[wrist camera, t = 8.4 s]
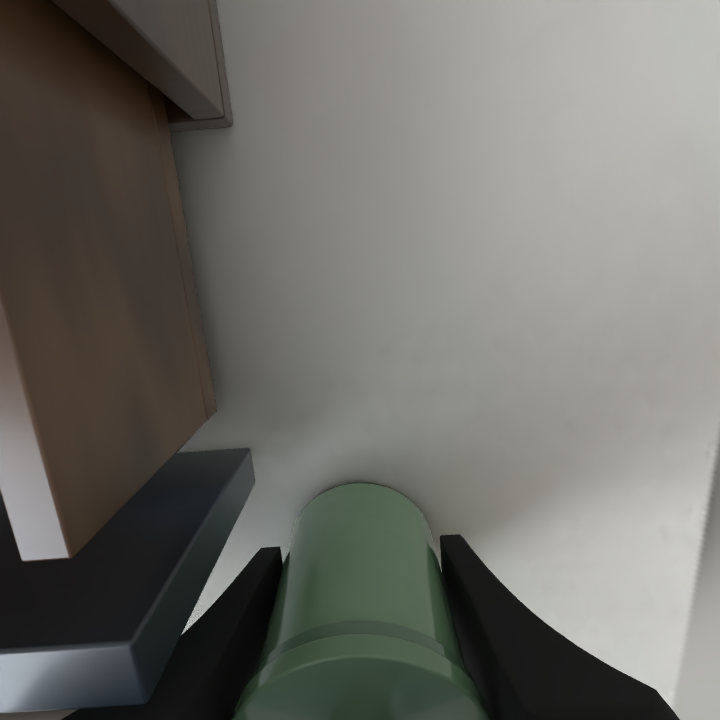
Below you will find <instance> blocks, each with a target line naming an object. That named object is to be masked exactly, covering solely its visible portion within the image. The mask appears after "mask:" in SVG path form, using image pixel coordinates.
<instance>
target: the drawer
mask: <svg viewBox="0 0 720 720" xmlns="http://www.w3.org/2000/svg"><path fill="white" fill-rule="evenodd" d="M216 411H217V408H216V403H215V397H214V391H213V385H212V379H211V373H210V367H209V361H208V355H207V349H206V344H205V338H204V332H203V326H202V320H201V314H200V308H199V302H198V296H197V291H196V285H195V279H194V273H193V267H192V261H191V255H190V249H189V243H188V237H187V232H186V226H185V220H184V214H183V208H182V202H181V196H180V190H179V184H178V178H177V173H176V167H175V161H174V155H173V149H172V143H171V137H170V131H169V125H168V120H167V114H166V108H165V102H164V96H163V93H162V92H161V91H159V90H158V89H157V88H156V87H155V86H153V85H152V84H151V83H150V82H149V81H147V80H146V79H145V78H144V77H143V76H141V75H140V74H139V73H138V72H137V71H135V70H134V69H133V68H132V67H131V66H129V65H128V64H127V63H126V62H124V61H123V60H122V59H121V58H120V57H118V56H117V55H116V54H115V53H114V52H112V51H111V50H110V49H109V48H108V47H106V46H105V45H104V44H103V43H102V42H100V41H99V40H98V39H97V38H96V37H94V36H93V35H92V34H91V33H90V32H88V31H87V30H86V29H85V28H83V27H82V26H81V25H80V24H79V23H77V22H76V21H75V20H74V19H73V18H71V17H70V16H69V15H68V14H67V13H65V12H64V11H63V10H62V9H61V8H59V7H58V6H57V5H56V4H55V3H53V2H52V1H51V0H0V720H61V719H63V718H64V717H66V716H68V715H70V714H71V713H73V712H75V711H76V710H78V709H82V708H99V707H116V706H133V705H144V704H146V703H147V702H148V701H149V700H150V698H151V695H152V693H153V691H154V689H155V687H156V685H157V683H158V681H159V679H160V677H161V675H162V673H163V671H164V669H165V667H166V665H167V663H168V661H169V658H170V656H171V654H172V652H173V650H174V648H175V646H176V644H177V642H178V640H179V638H180V636H181V634H182V632H183V630H184V628H185V626H186V624H187V622H188V619H189V617H190V615H191V613H192V611H193V609H194V607H195V605H196V603H197V601H198V599H199V597H200V595H201V593H202V591H203V589H204V587H205V585H206V582H207V580H208V578H209V576H210V574H211V572H212V570H213V568H214V566H215V564H216V562H217V560H218V558H219V556H220V554H221V552H222V550H223V548H224V546H225V543H226V541H227V539H228V537H229V535H230V533H231V531H232V529H233V527H234V525H235V523H236V521H237V519H238V517H239V515H240V513H241V511H242V509H243V506H244V504H245V502H246V500H247V498H248V496H249V494H250V492H251V490H252V488H253V486H254V484H255V476H254V470H253V463H252V457H251V450H250V448H238V449H225V450H212V451H199V452H185V453H176V452H177V451H178V450H179V449H180V448H181V447H182V446H183V445H184V444H185V443H186V442H187V441H188V440H189V439H190V438H191V437H192V436H193V435H194V434H195V433H196V431H197V430H198V429H199V428H200V427H201V426H202V425H203V424H204V423H205V422H206V421H207V420H208V419H209V418H210V417H211V416H212V415H213V414H214V413H215V412H216Z"/></svg>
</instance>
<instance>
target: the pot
mask: <svg viewBox="0 0 720 720" xmlns="http://www.w3.org/2000/svg"><path fill="white" fill-rule="evenodd" d="M230 720H493V718H492V715H491V713H490V710H489V707H488V704H487V702H486V701H485V699H484V697H483V695H482V693H481V691H480V690H479V689H478V686H477V684H476V682H475V681H474V679H473V677H472V675H471V673H470V672H469V671H468V669H467V668H466V665H465V661H464V657H463V654H462V650H461V646H460V642H459V638H458V634H457V630H456V626H455V623H454V619H453V615H452V611H451V607H450V603H449V599H448V595H447V592H446V588H445V584H444V580H443V576H442V572H441V568H440V564H439V561H438V557H437V553H436V549H435V545H434V541H433V537H432V534H431V530H430V527H429V524H428V522H427V520H426V518H425V517H424V515H423V514H422V512H421V511H420V509H419V508H418V507H417V506H416V505H415V504H414V503H413V502H412V501H410V500H409V499H408V498H407V497H405V496H404V495H402V494H400V493H399V492H397V491H395V490H392V489H390V488H387V487H384V486H381V485H376V484H369V483H353V484H347V485H342V486H338V487H335V488H332V489H330V490H328V491H326V492H324V493H322V494H320V495H319V496H317V497H316V498H315V499H313V500H312V501H311V502H310V503H309V504H308V505H307V506H306V507H305V508H304V509H303V510H302V511H301V513H300V514H299V516H298V517H297V519H296V521H295V523H294V526H293V529H292V532H291V535H290V539H289V543H288V547H287V551H286V555H285V559H284V563H283V567H282V571H281V574H280V578H279V582H278V586H277V590H276V594H275V598H274V602H273V606H272V610H271V613H270V617H269V621H268V625H267V629H266V633H265V637H264V641H263V645H262V649H261V653H260V656H259V660H258V664H257V668H256V669H255V670H254V672H253V673H252V675H251V677H250V678H249V680H248V682H247V684H246V686H245V688H244V690H243V691H242V693H241V695H240V696H239V698H238V700H237V702H236V704H235V707H234V709H233V712H232V715H231V718H230Z"/></svg>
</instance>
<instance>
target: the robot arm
mask: <svg viewBox="0 0 720 720" xmlns="http://www.w3.org/2000/svg"><path fill="white" fill-rule="evenodd" d="M440 546H441V567H442V576H443V580H444V584H445V588H446V592H447V595H448V599H449V603H450V607H451V611H452V615H453V619H454V623H455V626H456V630H457V634H458V638H459V642H460V646H461V650H462V654H463V657H464V661H465V665H466V668H467V669H468V671H469V672H470V673H471V675H472V677H473V679H474V681H475V682H476V684H477V686H478V689H479V690H480V691H481V693H482V695H483V697H484V699H485V701H486V702H487V704H488V707H489V710H490V713H491V715H492V718H493V720H680V719H679V718H678V717H677V715H676V714H675V713H674V711H673V710H672V709H671V708H670V707H669V705H668V704H667V703H666V702H665V701H664V699H663V698H662V697H661V696H660V694H659V693H658V692H657V691H656V690H655V689H653V688H652V687H650V686H648V685H646V684H644V683H642V682H640V681H638V680H636V679H634V678H632V677H630V676H628V675H626V674H624V673H622V672H620V671H618V670H616V669H615V668H613V667H611V666H609V665H608V664H606V663H604V662H603V661H601V660H599V659H598V658H596V657H594V656H593V655H591V654H589V653H588V652H586V651H585V650H583V649H582V648H580V647H578V646H577V645H575V644H574V643H573V642H571V641H570V640H568V639H567V638H565V637H564V636H563V635H561V634H560V633H558V632H557V631H555V630H554V629H553V628H551V627H550V626H549V625H547V624H546V623H545V622H544V621H542V620H541V619H540V618H539V617H538V616H536V615H535V614H534V613H533V612H532V611H530V610H529V609H528V608H527V607H526V606H525V605H524V604H523V603H522V602H520V601H519V600H518V599H517V598H516V597H515V596H514V595H513V594H512V593H511V592H510V591H509V590H508V589H507V588H506V587H505V586H504V585H503V584H502V583H501V582H500V581H499V580H498V579H497V578H496V576H495V575H494V574H493V573H492V572H491V571H490V570H489V569H488V568H487V567H486V565H485V564H484V563H483V562H482V561H481V560H480V558H479V557H478V556H477V555H476V554H475V552H474V551H473V550H472V549H471V547H470V546H469V545H468V543H467V542H466V541H465V539H464V538H463V537H462V536H461V535H460V534H456V535H441V536H440ZM282 567H283V563H282V557H281V550H280V547H267V548H261V549H260V550H259V551H258V552H257V553H256V554H255V556H254V557H253V558H252V559H251V560H250V562H249V563H248V564H247V565H246V567H245V568H244V569H243V570H242V571H241V573H240V574H239V575H238V576H237V577H236V579H235V580H234V581H233V582H232V583H231V584H230V586H229V587H228V588H227V589H226V590H225V591H224V593H223V594H222V595H221V596H220V597H219V598H218V599H217V600H216V601H215V603H214V604H213V605H212V606H211V607H210V608H209V609H208V610H207V611H206V612H205V613H204V614H203V615H202V616H201V617H200V618H199V619H198V620H197V621H196V622H195V623H194V624H193V625H192V626H191V627H190V628H189V629H188V630H187V631H186V632H184V633H183V634H182V635H181V636H180V638H179V640H178V642H177V644H176V646H175V648H174V650H173V652H172V654H171V656H170V658H169V661H168V663H167V665H166V667H165V669H164V671H163V673H162V675H161V677H160V679H159V681H158V683H157V685H156V687H155V689H154V691H153V693H152V695H151V698H150V700H149V701H148V702H147V703H146V704H144V705H133V706H116V707H99V708H82V709H78V710H76V711H75V712H73V713H71V714H70V715H68V716H66V717H64V718H63V719H61V720H230V718H231V715H232V712H233V709H234V707H235V704H236V702H237V700H238V698H239V696H240V695H241V693H242V691H243V690H244V688H245V686H246V684H247V682H248V680H249V678H250V677H251V675H252V673H253V672H254V670H255V669H256V668H257V664H258V660H259V656H260V653H261V649H262V645H263V641H264V637H265V633H266V629H267V625H268V621H269V617H270V613H271V610H272V606H273V602H274V598H275V594H276V590H277V586H278V582H279V578H280V574H281V571H282Z"/></svg>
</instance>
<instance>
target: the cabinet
mask: <svg viewBox="0 0 720 720" xmlns="http://www.w3.org/2000/svg"><path fill="white" fill-rule="evenodd" d="M51 1H52V2H53V3H55V4H56V5H57V6H58V7H59V8H61V9H62V10H63V11H64V12H65V13H67V14H68V15H69V16H70V17H71V18H73V19H74V20H75V21H76V22H77V23H79V24H80V25H81V26H82V27H83V28H85V29H86V30H87V31H88V32H90V33H91V34H92V35H93V36H94V37H96V38H97V39H98V40H99V41H100V42H102V43H103V44H104V45H105V46H106V47H108V48H109V49H110V50H111V51H112V52H114V53H115V54H116V55H117V56H118V57H120V58H121V59H122V60H123V61H124V62H126V63H127V64H128V65H129V66H131V67H132V68H133V69H134V70H135V71H137V72H138V73H139V74H140V75H141V76H143V77H144V78H145V79H146V80H147V81H149V82H150V83H151V84H152V85H153V86H155V87H156V88H157V89H158V90H159V91H161V92H162V93H163V96H164V102H165V108H166V114H167V120H168V125H169V131H170V132H177V131H187V130H198V129H208V128H218V127H229V126H232V124H233V121H232V114H231V107H230V99H229V92H228V85H227V78H226V70H225V63H224V56H223V49H222V41H221V34H220V27H219V20H218V13H217V5H216V0H51Z"/></svg>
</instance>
